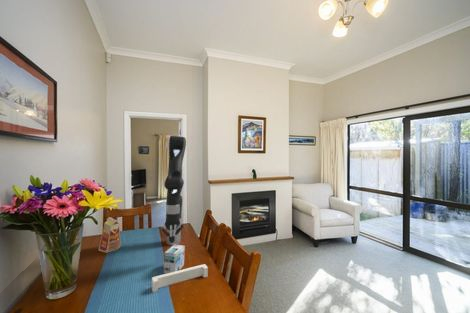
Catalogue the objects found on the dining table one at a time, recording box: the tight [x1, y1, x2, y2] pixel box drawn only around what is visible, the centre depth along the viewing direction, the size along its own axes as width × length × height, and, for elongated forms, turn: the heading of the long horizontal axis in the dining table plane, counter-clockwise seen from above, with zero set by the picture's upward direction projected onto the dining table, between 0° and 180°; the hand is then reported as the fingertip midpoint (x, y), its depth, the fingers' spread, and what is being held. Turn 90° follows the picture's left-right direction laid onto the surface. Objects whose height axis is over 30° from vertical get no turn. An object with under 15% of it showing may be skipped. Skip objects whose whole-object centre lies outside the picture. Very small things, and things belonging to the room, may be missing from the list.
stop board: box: [151, 263, 209, 293], centre depth 95 cm, size 4×26×4 cm, turn 121°
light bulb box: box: [163, 244, 186, 274], centre depth 106 cm, size 11×7×11 cm, turn 168°
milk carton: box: [98, 216, 121, 254], centre depth 127 cm, size 9×9×20 cm
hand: (171, 242), depth 113 cm, fingers closed
